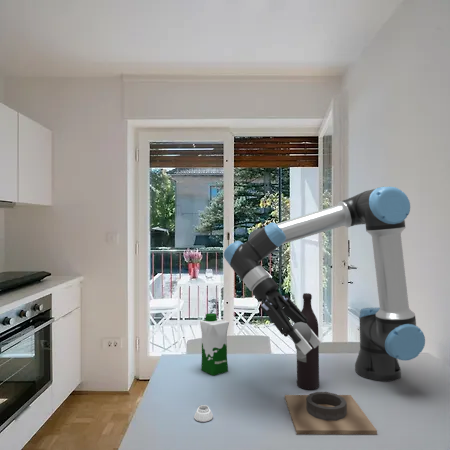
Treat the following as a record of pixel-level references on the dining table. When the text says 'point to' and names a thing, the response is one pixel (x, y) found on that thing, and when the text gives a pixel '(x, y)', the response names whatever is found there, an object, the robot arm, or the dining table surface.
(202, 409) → the lidless jar
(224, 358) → the milk carton
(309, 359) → the wine bottle
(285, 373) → the dining table surface
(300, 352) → the light bulb
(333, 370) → the dining table surface
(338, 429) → the lamp holder
